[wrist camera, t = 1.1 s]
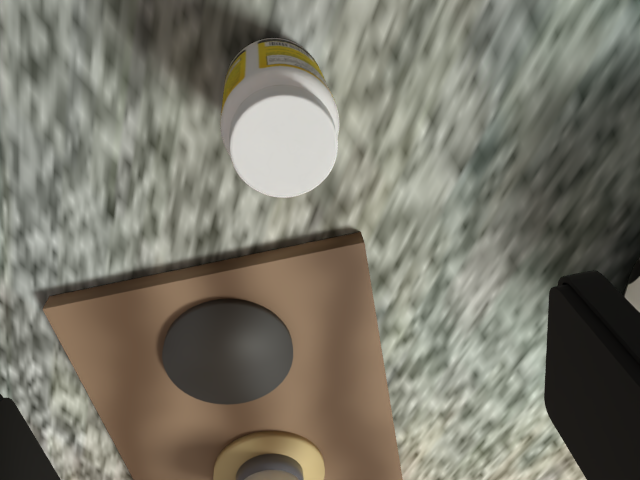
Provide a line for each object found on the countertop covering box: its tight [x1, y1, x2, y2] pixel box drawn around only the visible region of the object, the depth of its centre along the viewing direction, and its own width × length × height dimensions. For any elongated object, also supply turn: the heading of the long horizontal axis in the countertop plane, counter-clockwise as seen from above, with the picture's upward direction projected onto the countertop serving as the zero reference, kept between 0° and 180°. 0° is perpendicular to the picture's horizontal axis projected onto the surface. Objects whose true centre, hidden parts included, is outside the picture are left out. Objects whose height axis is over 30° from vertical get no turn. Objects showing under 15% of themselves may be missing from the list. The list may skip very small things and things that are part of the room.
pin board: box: [43, 232, 403, 480], centre depth 37 cm, size 18×22×2 cm
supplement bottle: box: [220, 38, 339, 197], centre depth 25 cm, size 5×5×8 cm
